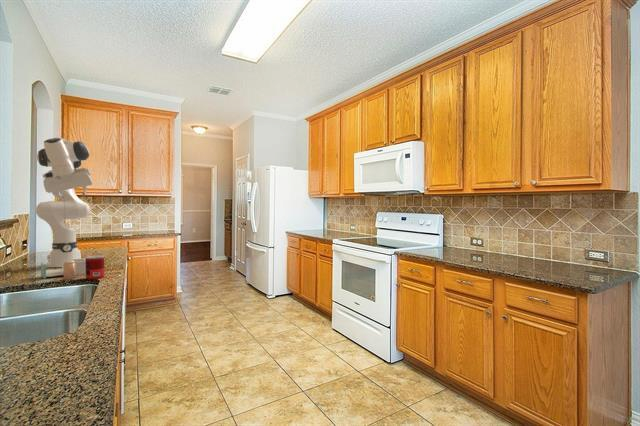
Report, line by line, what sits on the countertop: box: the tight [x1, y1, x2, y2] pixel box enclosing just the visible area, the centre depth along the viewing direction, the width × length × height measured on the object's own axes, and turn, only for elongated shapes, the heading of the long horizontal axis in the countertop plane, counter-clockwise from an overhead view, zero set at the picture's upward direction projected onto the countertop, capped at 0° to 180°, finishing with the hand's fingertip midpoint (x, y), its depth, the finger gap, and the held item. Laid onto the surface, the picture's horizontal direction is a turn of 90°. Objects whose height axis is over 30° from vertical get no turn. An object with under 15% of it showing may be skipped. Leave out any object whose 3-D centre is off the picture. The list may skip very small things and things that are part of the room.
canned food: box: [85, 254, 105, 280], centre depth 168 cm, size 8×8×11 cm
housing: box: [61, 257, 86, 276], centre depth 177 cm, size 11×10×7 cm
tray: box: [40, 261, 64, 280], centre depth 171 cm, size 9×10×7 cm
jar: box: [63, 261, 77, 281], centre depth 165 cm, size 5×5×9 cm
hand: (74, 197), depth 171 cm, fingers open, 8 cm apart
